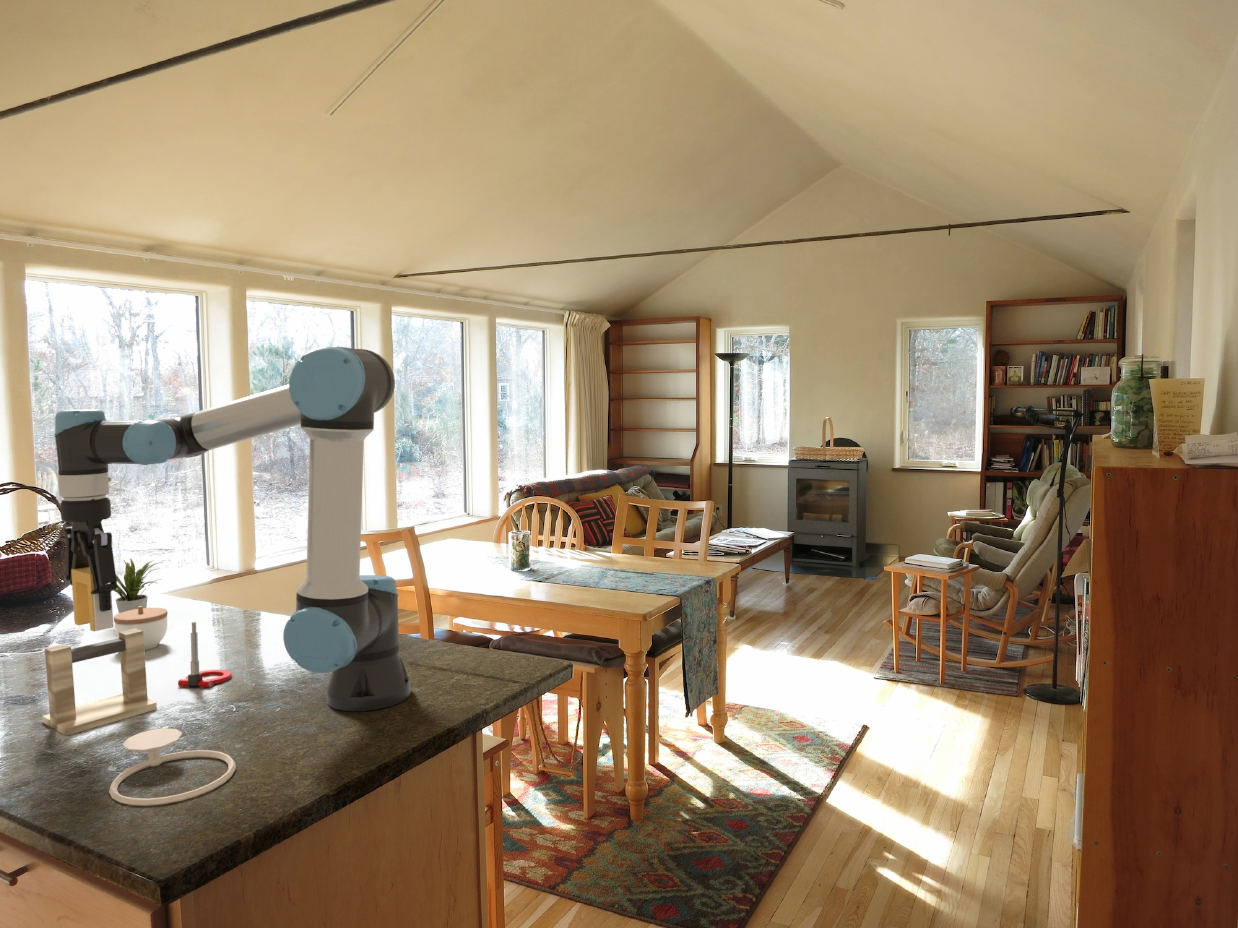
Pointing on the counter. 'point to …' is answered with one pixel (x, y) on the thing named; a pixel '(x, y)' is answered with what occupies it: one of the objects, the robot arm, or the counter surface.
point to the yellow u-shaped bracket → (83, 597)
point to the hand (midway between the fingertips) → (93, 624)
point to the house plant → (132, 588)
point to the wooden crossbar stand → (102, 711)
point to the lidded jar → (144, 624)
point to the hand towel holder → (152, 744)
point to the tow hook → (196, 676)
